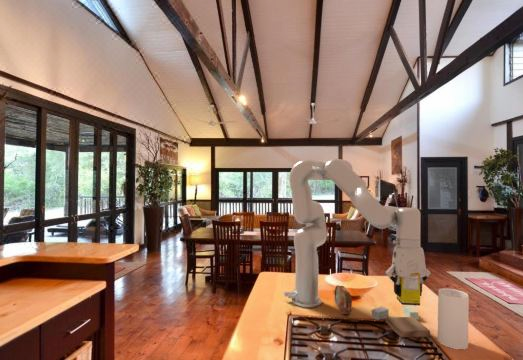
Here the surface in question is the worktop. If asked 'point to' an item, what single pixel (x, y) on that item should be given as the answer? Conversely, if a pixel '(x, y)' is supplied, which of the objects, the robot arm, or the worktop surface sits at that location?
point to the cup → (453, 318)
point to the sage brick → (410, 312)
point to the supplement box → (410, 290)
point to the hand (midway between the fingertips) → (407, 294)
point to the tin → (343, 299)
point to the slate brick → (380, 313)
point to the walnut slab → (407, 327)
